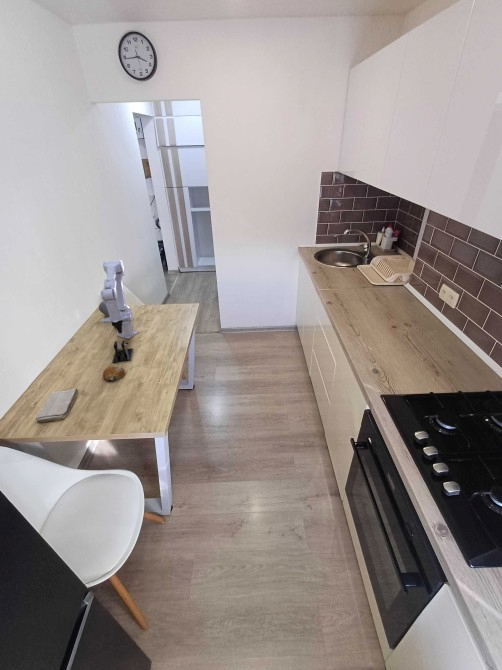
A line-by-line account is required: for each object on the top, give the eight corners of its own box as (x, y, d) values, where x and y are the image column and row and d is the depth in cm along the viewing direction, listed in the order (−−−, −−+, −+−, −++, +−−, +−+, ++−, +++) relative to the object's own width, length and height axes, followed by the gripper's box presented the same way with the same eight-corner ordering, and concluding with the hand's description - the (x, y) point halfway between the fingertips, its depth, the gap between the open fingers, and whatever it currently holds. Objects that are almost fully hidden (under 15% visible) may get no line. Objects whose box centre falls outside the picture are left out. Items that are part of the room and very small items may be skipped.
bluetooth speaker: (131, 321, 204) (127, 307, 199) (117, 327, 198) (113, 312, 193) (113, 311, 217) (109, 298, 212) (100, 316, 211) (96, 303, 206)
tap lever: (119, 346, 175) (118, 342, 174) (128, 345, 175) (127, 341, 175) (114, 349, 165) (114, 344, 165) (124, 347, 166) (123, 343, 165)
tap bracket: (116, 352, 174) (111, 338, 170) (133, 349, 176) (129, 336, 171) (113, 364, 165) (108, 350, 160) (130, 361, 166) (126, 347, 162)
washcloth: (36, 424, 131) (33, 419, 130) (52, 395, 146) (49, 389, 145) (66, 419, 133) (63, 414, 131) (79, 391, 148) (76, 386, 146)
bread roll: (129, 379, 159) (129, 364, 158) (114, 384, 150) (115, 368, 148) (113, 376, 162) (113, 360, 161) (97, 380, 152) (98, 364, 151)
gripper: (97, 315, 161) (105, 338, 168) (127, 311, 163) (133, 334, 171) (100, 309, 167) (107, 331, 174) (129, 306, 169) (135, 327, 176)
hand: (120, 332), depth 173 cm, fingers closed
